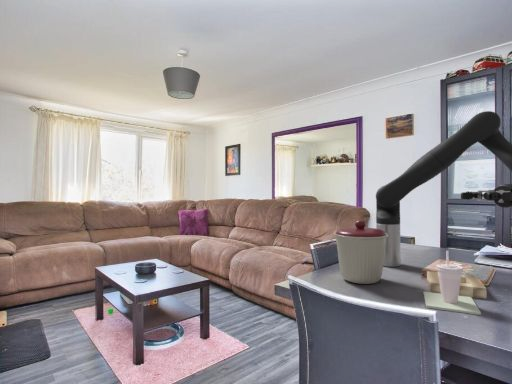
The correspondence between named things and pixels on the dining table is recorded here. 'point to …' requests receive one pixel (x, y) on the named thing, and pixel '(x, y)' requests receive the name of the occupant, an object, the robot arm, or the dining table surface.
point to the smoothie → (449, 280)
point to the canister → (361, 253)
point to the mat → (451, 304)
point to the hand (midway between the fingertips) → (474, 196)
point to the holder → (468, 285)
